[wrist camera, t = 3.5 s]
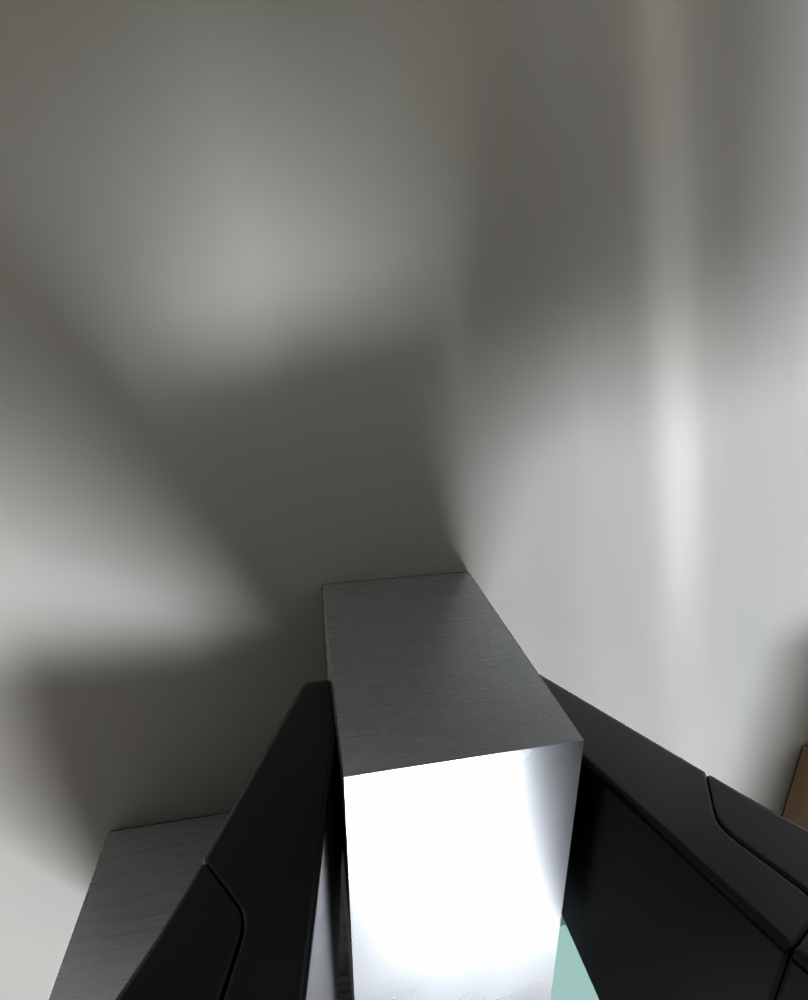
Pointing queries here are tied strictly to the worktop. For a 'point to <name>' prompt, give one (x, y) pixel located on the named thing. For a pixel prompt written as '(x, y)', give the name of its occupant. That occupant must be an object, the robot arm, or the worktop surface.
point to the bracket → (398, 811)
